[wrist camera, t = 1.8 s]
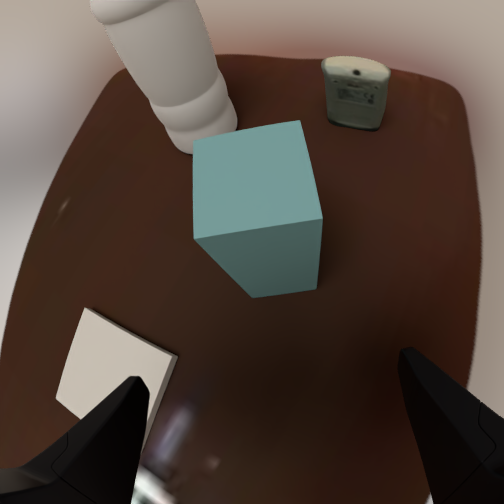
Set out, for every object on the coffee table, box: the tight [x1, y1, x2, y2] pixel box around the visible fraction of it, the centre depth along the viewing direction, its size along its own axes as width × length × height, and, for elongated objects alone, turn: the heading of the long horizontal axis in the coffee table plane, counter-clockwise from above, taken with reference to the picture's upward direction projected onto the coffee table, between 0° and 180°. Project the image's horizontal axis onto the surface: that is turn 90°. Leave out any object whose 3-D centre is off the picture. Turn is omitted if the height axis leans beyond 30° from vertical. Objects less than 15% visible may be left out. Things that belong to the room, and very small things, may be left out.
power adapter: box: [321, 56, 391, 131], centre depth 24 cm, size 6×5×8 cm
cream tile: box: [56, 308, 178, 454], centre depth 23 cm, size 10×10×1 cm
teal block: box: [193, 120, 323, 298], centre depth 19 cm, size 5×5×13 cm
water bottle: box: [90, 0, 237, 154], centre depth 19 cm, size 7×7×25 cm
